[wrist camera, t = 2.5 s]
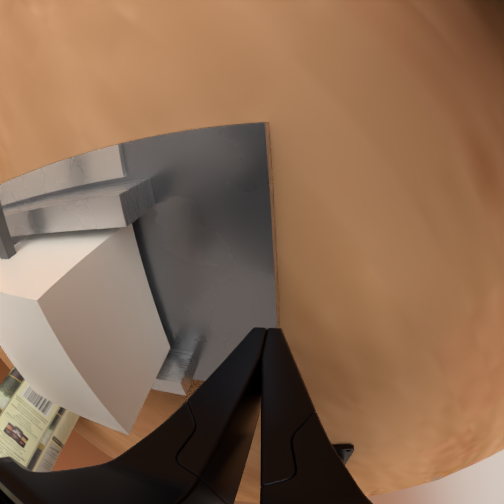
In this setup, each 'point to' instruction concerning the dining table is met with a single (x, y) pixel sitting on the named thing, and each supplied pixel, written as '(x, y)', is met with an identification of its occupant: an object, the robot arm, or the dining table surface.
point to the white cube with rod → (81, 321)
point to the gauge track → (175, 231)
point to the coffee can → (31, 425)
